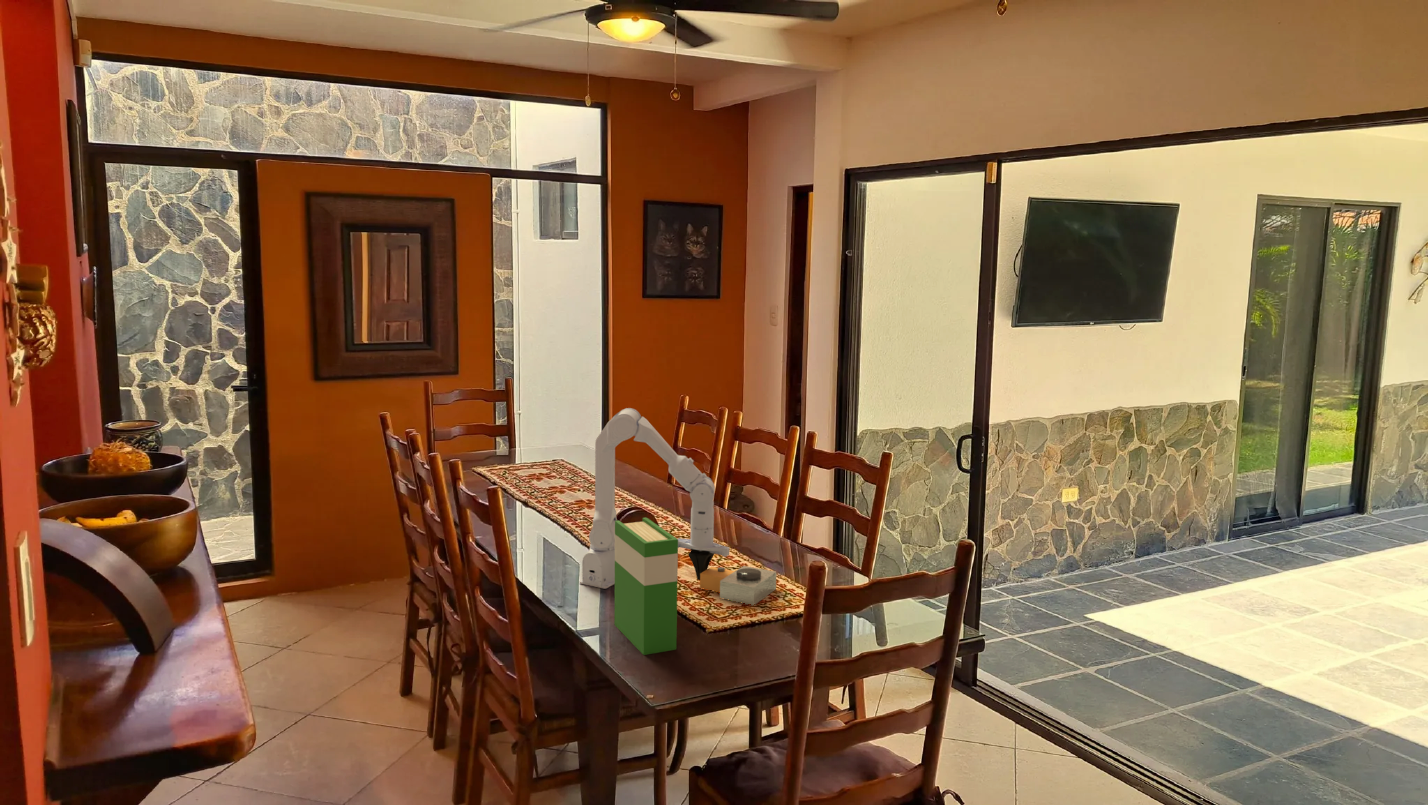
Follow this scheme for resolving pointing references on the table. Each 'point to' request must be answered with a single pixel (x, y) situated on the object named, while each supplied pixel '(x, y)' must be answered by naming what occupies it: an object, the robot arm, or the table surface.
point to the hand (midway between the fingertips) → (701, 579)
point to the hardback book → (646, 585)
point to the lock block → (713, 578)
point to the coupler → (748, 585)
